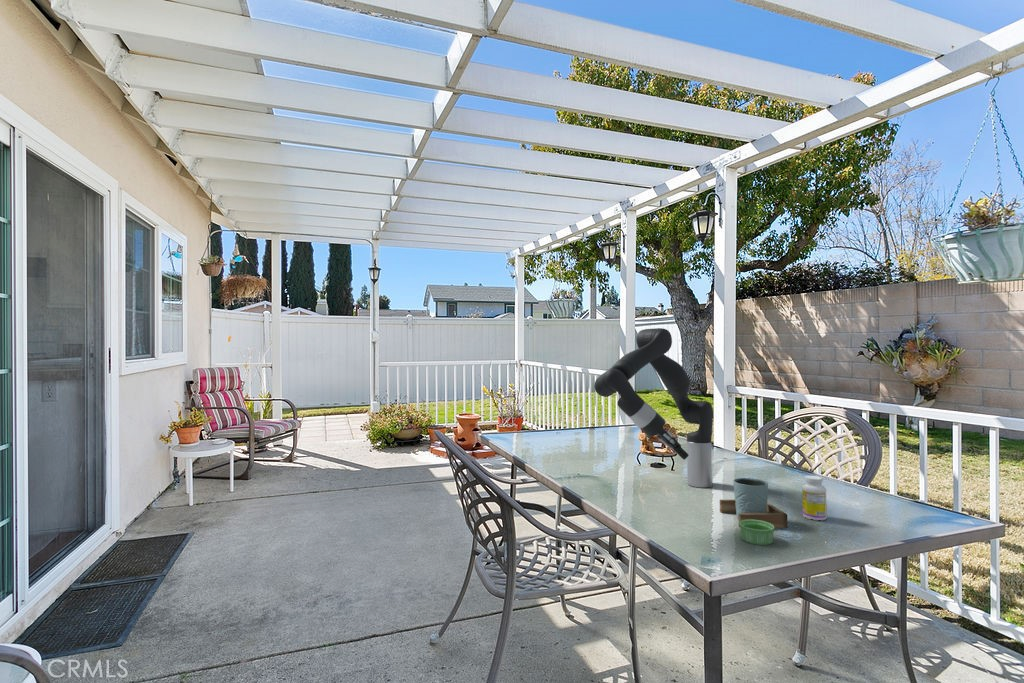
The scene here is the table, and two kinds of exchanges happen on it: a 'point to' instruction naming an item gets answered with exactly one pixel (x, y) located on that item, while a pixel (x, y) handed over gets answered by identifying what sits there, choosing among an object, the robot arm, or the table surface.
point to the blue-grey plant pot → (750, 495)
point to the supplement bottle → (814, 498)
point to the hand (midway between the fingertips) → (685, 457)
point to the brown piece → (757, 514)
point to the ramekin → (756, 531)
